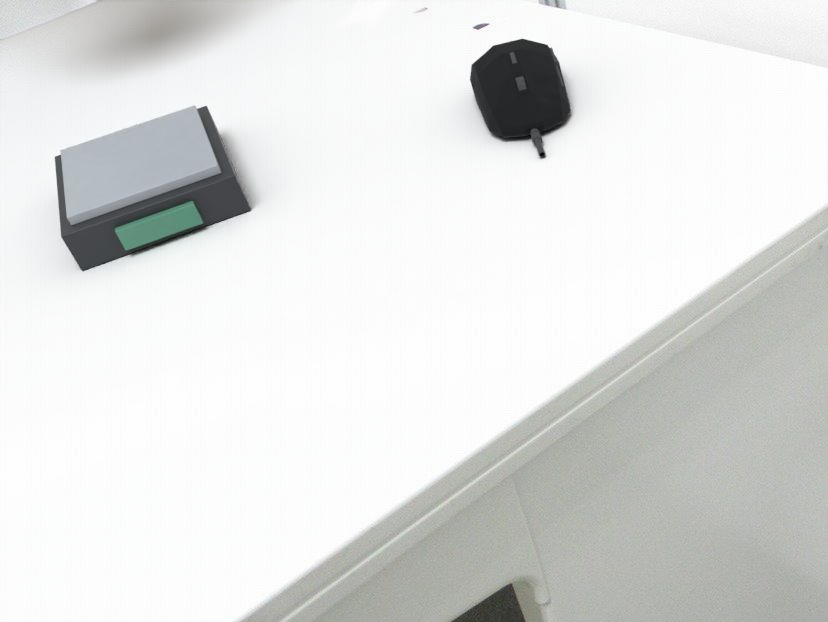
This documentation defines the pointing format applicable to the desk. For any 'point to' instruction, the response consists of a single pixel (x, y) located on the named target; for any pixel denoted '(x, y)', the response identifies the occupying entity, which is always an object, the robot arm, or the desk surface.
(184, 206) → the scale
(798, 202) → the desk surface
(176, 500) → the desk surface
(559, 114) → the gaming mouse
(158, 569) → the desk surface
